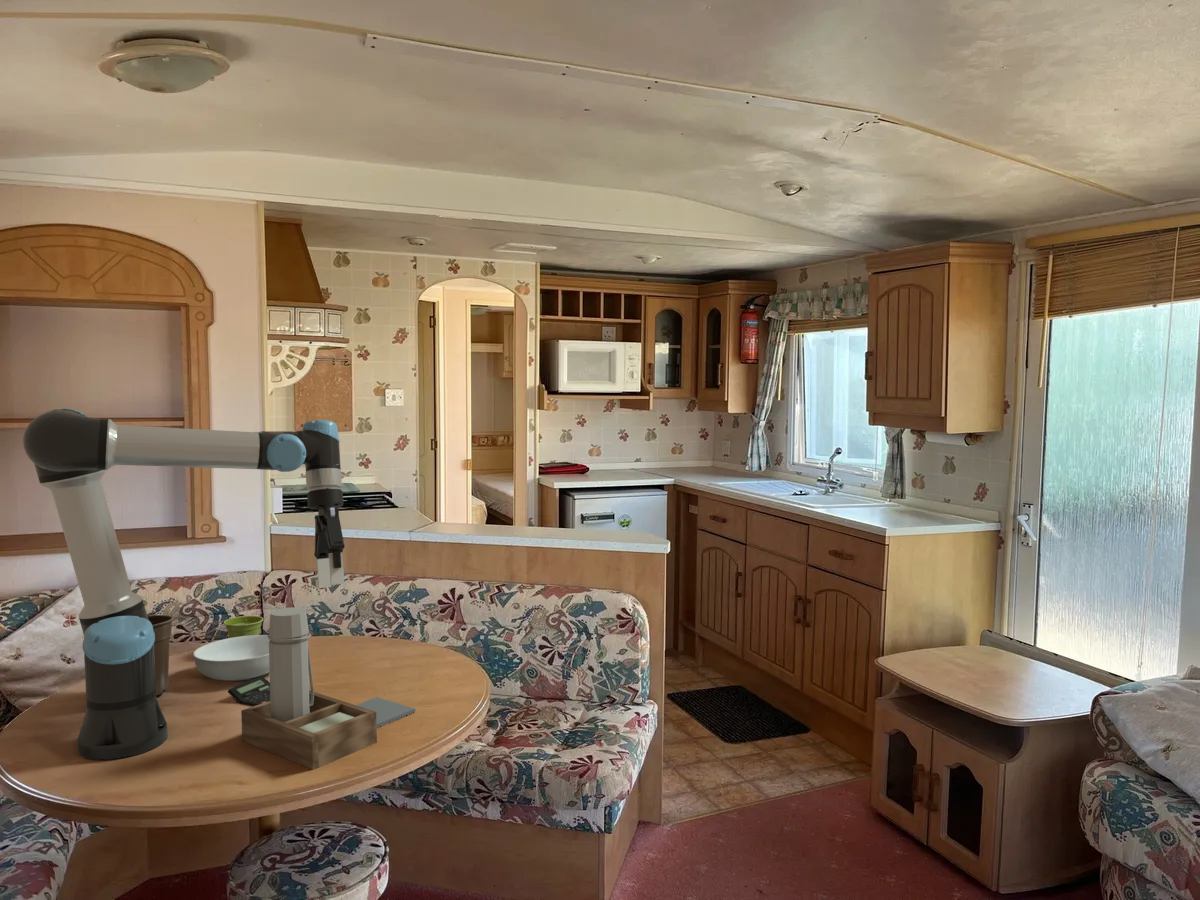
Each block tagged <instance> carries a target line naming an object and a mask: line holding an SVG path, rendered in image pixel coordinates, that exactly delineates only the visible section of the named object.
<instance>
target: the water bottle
mask: <svg viewBox="0 0 1200 900" xmlns="http://www.w3.org/2000/svg"><path fill="white" fill-rule="evenodd" d="M269 614H270V615H269V628H268V634H267V635H268V639H270V641H269V667H270V672H269V683H270V700H271V718H274V719H277V720H279V721H282V722H286V721H289V720H292V719H295V718H298V717H300V716H303V715H306V714H309V713H310V708H309V707H310V706H312V705H313V701H314V692H315V689H314V680H313V673H312V665H311V657H310V649H309V643H308V640H309V638H311V636H312V634H311V633H310V631H309V624H308V617H307V610H306V608H303V607H295V606H294V607H282V608H278V609H275V610H271V611H270V613H269ZM309 690H310V691H311V700H310V704H309Z"/></svg>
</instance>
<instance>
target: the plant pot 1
mask: <svg viewBox="0 0 1200 900" xmlns="http://www.w3.org/2000/svg"><path fill="white" fill-rule="evenodd" d="M147 616H148V620H149V621H150V622H151V624H152V626H153V631H154V633H155V641H154V655H155V680H156V697H157V696H159V695H161V694H162V693H163V692H164V693H165V692H167V691H168V690H169V673H170V672H169V667H170V665H169V661H170V657H169V656H170V640H171V639H170V638H171V636H172V626H173V625H172V623H173V621H174V619H175V617H174V616H172V615H166V614H163V615H162V614H153V615H147Z"/></svg>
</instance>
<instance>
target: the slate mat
mask: <svg viewBox="0 0 1200 900" xmlns="http://www.w3.org/2000/svg"><path fill="white" fill-rule="evenodd" d="M355 705H356V706H359V707H363V708H366V709H369V710H372V711H375V712H376V723H377V729H378V728H381V727H383V726H385V725H384V724H386V725H388V724H390V723H389V722H391V723H393V722H395V721H394V720H396V721H397V719H398V720H400V719H402V718H401V717H403V718H405V717H407V716H406V715H408V716H409V714H410V715H412V714H411V713H413V712H415V713H416V708H414V707H411V706H407V705H406V704H401V703H397V702H395V701H391V700H388V699H385V698H382V697H379V696H376V697H373V698H371V699H367V700H365V701H363V702H360V703H357V704H355ZM413 714H414V713H413ZM404 716H405V717H404ZM399 718H400V719H399ZM392 721H393V722H392ZM387 723H388V724H387ZM382 725H383V726H382ZM380 726H381V727H380Z"/></svg>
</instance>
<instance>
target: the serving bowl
mask: <svg viewBox="0 0 1200 900" xmlns="http://www.w3.org/2000/svg"><path fill="white" fill-rule="evenodd" d="M268 635H269V634H259V635H251V636H240V637H234V638H229V637H228V638H223V639H219V640H215V641H212V642H210V643H207V644H205V645H204V644H203V645H202V646H199V647H198V648H196V649H195V650H194V651H193V654H192V657H193V662H194V664H195V667H196V669H198V671H199V672H200V673H201V674H202V675H204V676H205V677H207V678H209V679H213V680H218V681H226V682H227V681H228V682H241V681H243V682H244V681H246V680H247V681H248V680H253V679H256V678H258V677H261V676H264V675H266V674H268V673H270V667H269V641H270V639H268Z"/></svg>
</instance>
